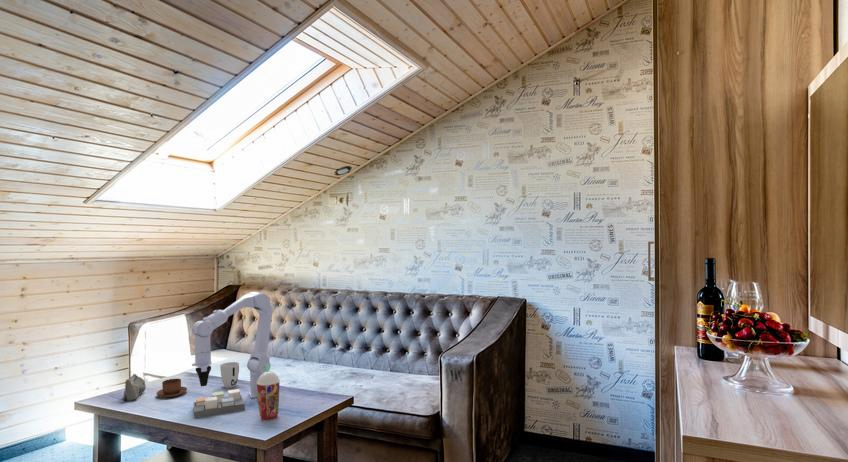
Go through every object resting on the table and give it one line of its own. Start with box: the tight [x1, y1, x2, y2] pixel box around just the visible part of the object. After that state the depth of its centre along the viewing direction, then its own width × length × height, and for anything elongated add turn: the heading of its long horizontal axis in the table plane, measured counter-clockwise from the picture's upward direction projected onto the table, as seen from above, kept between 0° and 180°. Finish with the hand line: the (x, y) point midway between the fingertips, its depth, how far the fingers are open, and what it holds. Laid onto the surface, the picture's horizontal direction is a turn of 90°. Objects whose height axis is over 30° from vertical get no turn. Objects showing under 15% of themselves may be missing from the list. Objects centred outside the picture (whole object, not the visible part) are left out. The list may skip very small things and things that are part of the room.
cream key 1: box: [205, 396, 217, 410], centre depth 198 cm, size 4×4×4 cm
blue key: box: [221, 397, 234, 407], centre depth 200 cm, size 4×4×4 cm
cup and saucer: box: [156, 378, 188, 398], centre depth 222 cm, size 12×12×6 cm
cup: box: [219, 361, 240, 389], centre depth 232 cm, size 8×8×10 cm
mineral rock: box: [123, 373, 146, 401], centre depth 221 cm, size 13×11×10 cm
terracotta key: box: [195, 396, 209, 406], centre depth 202 cm, size 4×4×4 cm
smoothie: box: [257, 364, 281, 421], centre depth 191 cm, size 8×8×20 cm
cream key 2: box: [227, 388, 241, 400], centre depth 207 cm, size 4×4×4 cm
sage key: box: [211, 390, 225, 403], centre depth 204 cm, size 4×4×4 cm
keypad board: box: [193, 394, 246, 419], centre depth 202 cm, size 18×12×2 cm
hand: (203, 385), depth 202 cm, fingers closed
